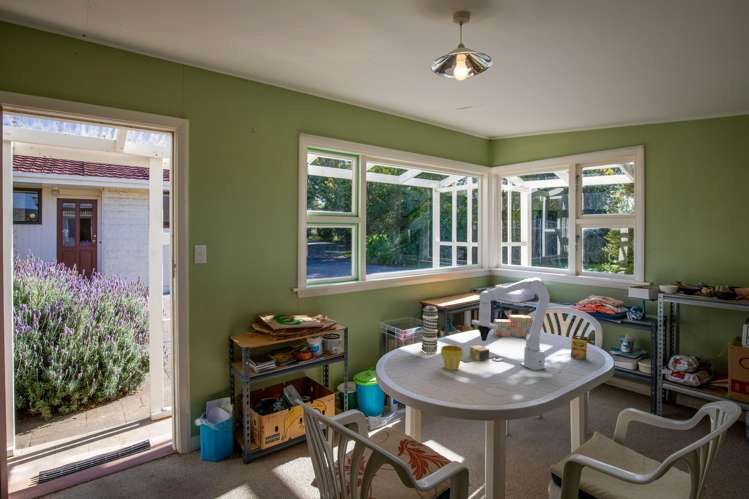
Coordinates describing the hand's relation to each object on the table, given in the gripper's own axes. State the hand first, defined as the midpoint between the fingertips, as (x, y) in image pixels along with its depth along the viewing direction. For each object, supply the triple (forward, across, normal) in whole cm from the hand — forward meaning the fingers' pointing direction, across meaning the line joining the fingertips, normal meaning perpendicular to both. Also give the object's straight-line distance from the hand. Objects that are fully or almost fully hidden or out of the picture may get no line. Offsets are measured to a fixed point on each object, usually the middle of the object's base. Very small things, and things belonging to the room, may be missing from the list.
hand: (484, 340), depth 216 cm
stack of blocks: (+11, +15, -52) cm, 56 cm away
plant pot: (+11, +4, +21) cm, 24 cm away
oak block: (+8, -1, 0) cm, 8 cm away
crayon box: (+11, -30, -42) cm, 53 cm away
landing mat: (+10, +9, -3) cm, 14 cm away
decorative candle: (+11, +27, +12) cm, 31 cm away
